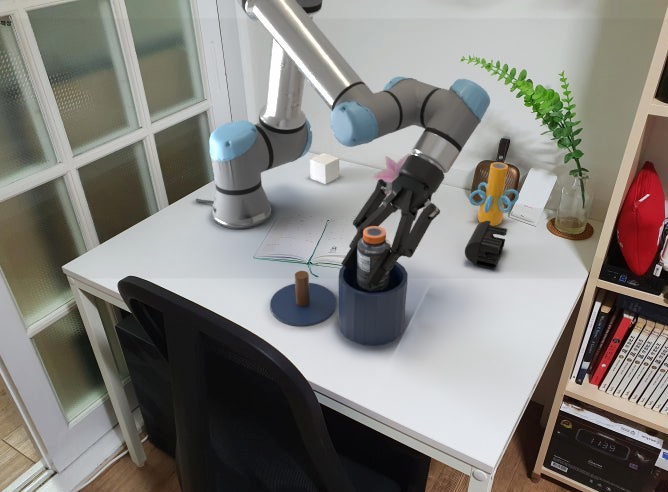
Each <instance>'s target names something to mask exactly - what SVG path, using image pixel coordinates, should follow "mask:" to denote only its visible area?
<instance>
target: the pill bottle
mask: <svg viewBox="0 0 668 492" xmlns="http://www.w3.org/2000/svg"><path fill="white" fill-rule="evenodd" d="M389 247H392V244H391V242H390V241H389V239H388V238H387V231H386V230H385V228H383V227H382V226H370V227H367V228H365V229H364V231H363V238H361V239H360V240H359V242H358V246H357V283H358V285H359V286H360V287H361V288H362V289H364V290H367V291H380V290H382V289H384V288H386V287H387V285H388V283H389V271H386V272H385V274H384V276H383V277H382V279H381V280H380V282H379V284H378V285H377V286H375V285H373V284H371V283H370V282H368V281H367V278H368V277H369V275H370V273H371V272H372V270H373V269H374V267H375V265H376V264H377V262H378V261H379V259H380V257H381V256H382V254H383V253H384V251H385V250H386V249H388V250H389ZM389 251H391V250H389Z"/></svg>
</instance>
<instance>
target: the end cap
mask: <svg viewBox="0 0 668 492" xmlns="http://www.w3.org/2000/svg"><path fill="white" fill-rule="evenodd" d="M490 222H491V221H483V222H481V223H480V222H479V223H478V224H477V225H476V227H475V228H474V231H473V232H472V235H471V236H470V238H469V240H468V243H467V244H466V246H465V248H464V255H465V257H466V259H467V260H468V261H469V262H470V263H472V264H473V265H474V266H476V267H479V268H483V269H487V270H490V271H491V270H492V271H494V270H496V268H497V266H498V263H499V261H500V259H501V256H502V254H503V251H504V247H505V243H506V238H503V237H505V236H507V233H508V228H506V227H502V226H497V225H496V226H491V225H490ZM495 235H498V236H502V238H501V237H498V236H495Z"/></svg>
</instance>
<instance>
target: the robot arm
mask: <svg viewBox="0 0 668 492" xmlns="http://www.w3.org/2000/svg"><path fill="white" fill-rule="evenodd" d="M236 1H237V3H238V4H239V6H240V8H241V9H242V11H244V13H245V14H246V15H247V17H248V18H249V19H250V20H252V21H254V22H259V23H260V24H261V25H262V26H263V28H264V29H265V30H266V31H267V33H268V34H269V35H270V36H271V39H270V40H271V41H270V53H269V65H268V75H267V78H268V79H267V90H266V103H265V105H263V106H261V108H260V109H259V111H258V122H257V123H255V124H254V123H253V122H250V121H247V120H238V121H229V122H226V123H224V124H222V125H220V126H218V127H217V128H215V129H213V131H212V132H211V134H210V136H209V156H210V160H211V165H212V172H213V179H214V185H215V195H214V199H213V200H209V199H200V198H196V199H195V202H197V203H201V204H211V205H212V208H211V209H212V211H211V213H212V219H213V221H214V222H215V223H216V224H217V225H218V226H220V227H223V228H226V229H234V230H243V229H249V228H254V227H257V226H260V225H262V224H264V223H265V222H267V221H268V220H269V219H270V217H271V216H272V205H271V202H270V201H269V199H268V196H267V194H266V191H265V190H264V187H263V184H262V173H264V172H267V171H269V170H272V169H274V168H278V167H280V166H283V165H286V164H289V163H293V162H295V161H298V160H299V159H301V158H303V157H304V156H306V155H307V154H308V153H309V151H310V149H311V147H312V144H313V131H312V130H311V128H312V125H311V124H310V121H309V120H308V118H307V116H306V114H305V112H304V111H303V109H302V104H303V103H302V102H303V96H304V87H305V80H306V81H307V82H308V83H309V84H310V86H311V87H312V88H313V89H314V91H315V92H316V93H317V94H318V95H319V97H320V98H321V99H322V100H323V102H324V103H325V104H326V106H327V107H328V108H329V109H330V111H331V113H330V119H329V124H330V129H331V130H332V131H333V136H334V138H335V139H336V140H337V142H338V143H339V144H341V145H342V146H344V147H347V148H354V147H358V146H362V145H364V144H369V143H372V142H373V141H374V140H377V139H380V138H382V137H384V136H386V135H389V134H393V133H395V132H398V131H401V130H403V129H406V128H409V127H412V126H417V127H419V128H422V129H424V130H423V132H422V133H421V134H420V136H419V138H418V139H417V141H416V142H415V144H414V145H413V148H412V149H411V155H410V156H408V157H407V159H406V160H405V162H404V164H403V165H402V167H401V168H400V171H399V175H398V177H397V178H396V179H395V180H393V181H392V182H385V181H384V180H382V179H380V180H377V181H376V184H375V188H374V190H373V191H372V193H371V195H370V196H369V197H368V199H367V201H366V202H365V203H364V205H363V206H362V208H361V209H360V210H359V212H358V213H357V215H356V216H355V218H354V219H353V221H352V226H354V228H355V229H356V234H355V235H354V237H353V239H352V240H351V241H350V243H349V246H348V248H350V249H349V250H348V252H347V254H346V255H345V257H344V258H343V259H342V261H341V264H340V265H342V266H345V267H347V268H348V269H350V270H352V268H353V267H354V265H355V264H356V262H357V246H358V242H359V240H360V239H361V238H363V231H364V229H365V228H367V227H370V226H378V227H380V226H381V225H382V224H383V223H384V222H385V221H386V220H387V219H388V218H389V217H390V216H391V215H392V214H394V213H396V212H397V211H398V210H399V211H400V219H399V223H398V225H397V228H396V232H395V234H394V238H393V239H392V244H391V247H389V250H391V251H389V250H388V249H386V250H385V251H384V253H383V254H382V256H381V257H380V259H379V261H378V262H377V264H376V265H375V267H374V269H373V270H372V272H371V273H370V275H369V277H368V278H367V281H368V282H370V283H371V284H373V285H375V286H377V285H378V284H379V282H380V280H381V279H382V277H383V276H384V274H385V272H386V271H391V270H392V268H393V266H394V265H395V263H396V262H398V260H399V259H400V258H401V257H407V258H411V257H413V255H414V254H415V252H416V250H417V249H418V247H419V245H420V243H421V241H422V240H423V237H424V236H425V234H426V232H427V230H428V229H429V227H430V225H431V223H432V221H434V219H436V218H437V216H438V215H440V213H441V210H440V209H439V207H438V206H437V205H436V204H435V203H434V202H432V196H433V194H435V193H436V192H437V191H438V189H439V188H440V186H441V185H442V183H443V181H444V180H445V178H446V177H445V174H448V173H449V172H450V169H452V167H453V165H454V164H455V162H456V160H457V159H458V157H459V155H460V153H461V152H462V151H463V148H464V147H465V146H466V144H467V142H468V141H469V139H470V138H471V136H472V135H473V133H474V132H475V130H476V129H477V128H478V126H479V124H481V122H482V120H483V117H484V115H485V114H486V112H487V110H488V109H489V106H490V104H491V97H490V95H489V94H488V92H487V90H485V88H483V87H482V86H481V85H480V84H478V83H476V82H474V81H472V80H470V79H467V78H458V79H456V80H455V81H454V82H453V83H452V85H450V87H449V89H447V88H441V87H438V86H436V85H432V84H430V83H426V82H422V81H420V80H418V79H416V78H413V77H405V76H395V77H393V78H391V79H390V81H389V82H388V83H386V84H385V85H384V87H383V90H381V91H378V92H373V91H372V90H371V88H370V87H369V86H368V85H367V84H366V83H365V82H364V80H363V79H362V78H361V77H360V76H359V75H358V73H357V72H356V71H355V70H354V69H353V67H352V66H351V65H350V63H348V61H347V60H346V59H345V58H344V57H343V55H342V53H340V52H339V50H338V49H337V48H336V47H335V46H334V44H333V43H332V42H331V41H330V40H329V38H328V37H327V35H325V34H324V32H323V31H322V30H321V29H320V28H319V26H318V25H317V24H316V23H315V21H314V16H315V15H317V14H318V13H319V12H320V11H321V10H322V8H323V7H322V6H323V0H236ZM389 191H390V192H389ZM389 193H390V195H389V196H388V197H387V196H386V195H387V194H389ZM421 209H422V211H421V212H420V214H419V216H418V213H419V210H421ZM417 216H418V217H417ZM414 222H415V223H414ZM413 224H414V225H413Z"/></svg>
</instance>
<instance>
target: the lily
mask: <svg viewBox="0 0 668 492" xmlns="http://www.w3.org/2000/svg"><path fill="white" fill-rule="evenodd" d="M410 155H412V152H409V153H406V154H405V155H404V156H402V157H401V158H400V159H399V160H398V161H397V162H396V161H395V160H393V159H392V158H391V157H389V156H385V158H384V159H385V166H386V168H385V169H383V170H380V171H378V172H376V173H374V174H373V175H372V178H373V180H376V181H378V180H380V179H382V180H384V181H385V182H392V181H393V180H395V179H396V178H397V177H398V175H399V171H400V168H401V167H402V165H403V164H404V162H405V160H406V159H407V157H408V156H410ZM389 192H390V191H389ZM389 195H390V193H389V194H387V195H386V198H387V197H388V196H389Z"/></svg>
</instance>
